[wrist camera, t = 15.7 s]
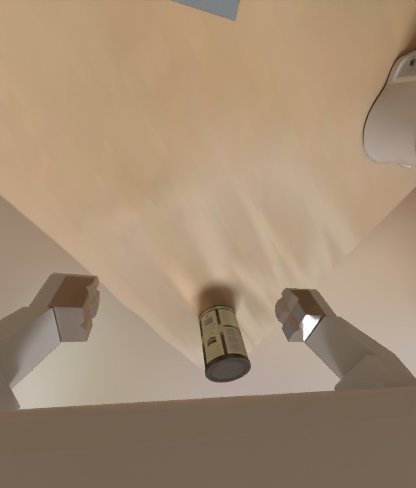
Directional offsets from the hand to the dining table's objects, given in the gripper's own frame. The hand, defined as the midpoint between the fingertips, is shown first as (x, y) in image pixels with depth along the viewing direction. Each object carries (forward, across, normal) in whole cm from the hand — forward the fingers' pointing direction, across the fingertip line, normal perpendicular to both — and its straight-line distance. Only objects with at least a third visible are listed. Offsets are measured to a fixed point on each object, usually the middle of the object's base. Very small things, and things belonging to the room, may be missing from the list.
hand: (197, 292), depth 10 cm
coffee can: (+31, -16, +41) cm, 54 cm away
